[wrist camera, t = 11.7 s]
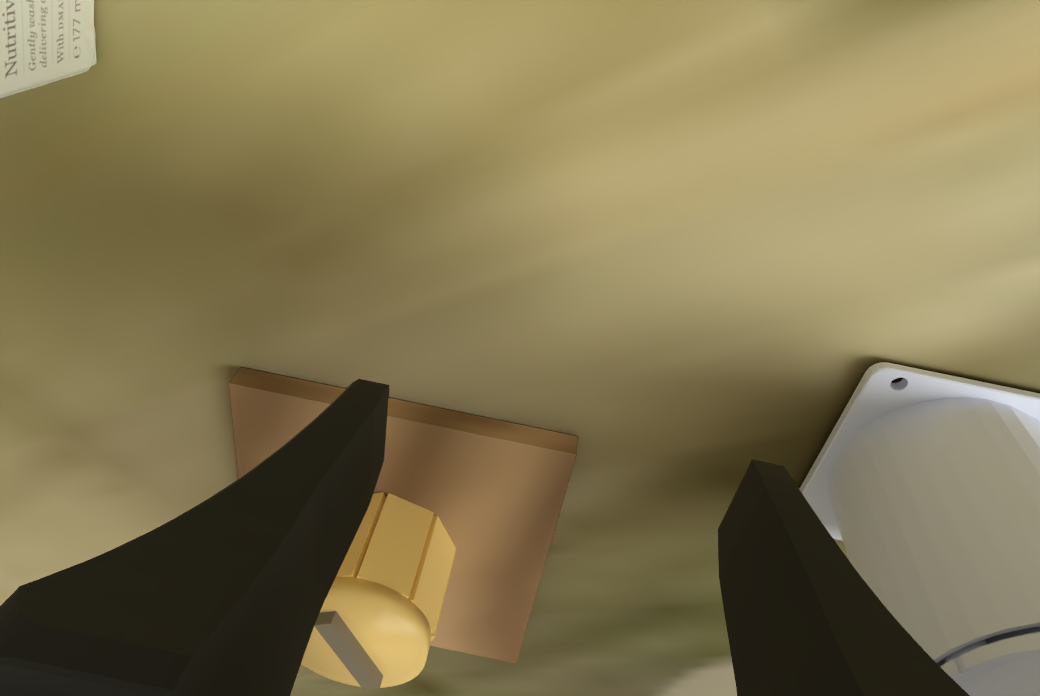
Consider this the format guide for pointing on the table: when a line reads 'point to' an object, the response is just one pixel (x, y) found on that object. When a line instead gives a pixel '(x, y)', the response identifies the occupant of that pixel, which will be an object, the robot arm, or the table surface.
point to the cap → (384, 598)
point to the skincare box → (44, 42)
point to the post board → (443, 495)
